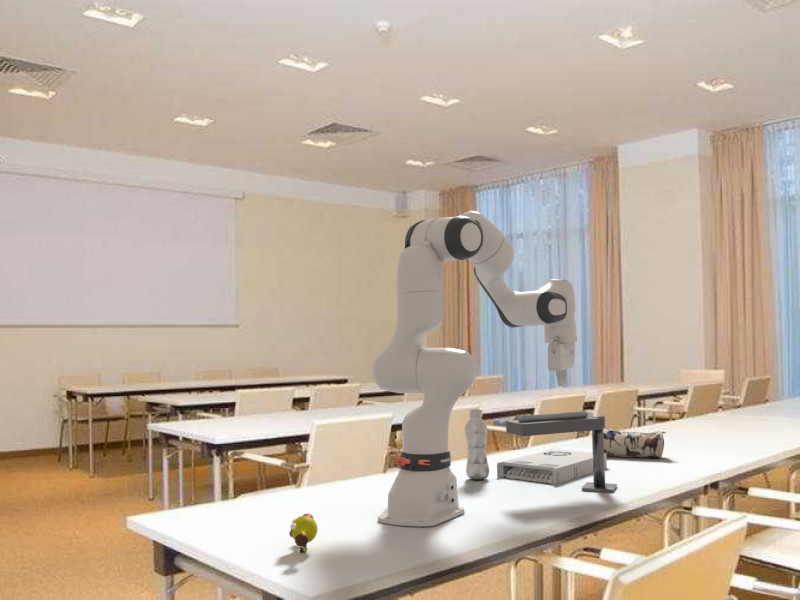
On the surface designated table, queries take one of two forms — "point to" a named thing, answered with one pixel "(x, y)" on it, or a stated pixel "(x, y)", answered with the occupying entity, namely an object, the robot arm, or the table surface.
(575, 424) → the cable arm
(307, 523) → the toy figure
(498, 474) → the power supply unit
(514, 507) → the table surface
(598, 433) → the post
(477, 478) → the plastic bottle
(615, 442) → the pencil case
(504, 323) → the robot arm
